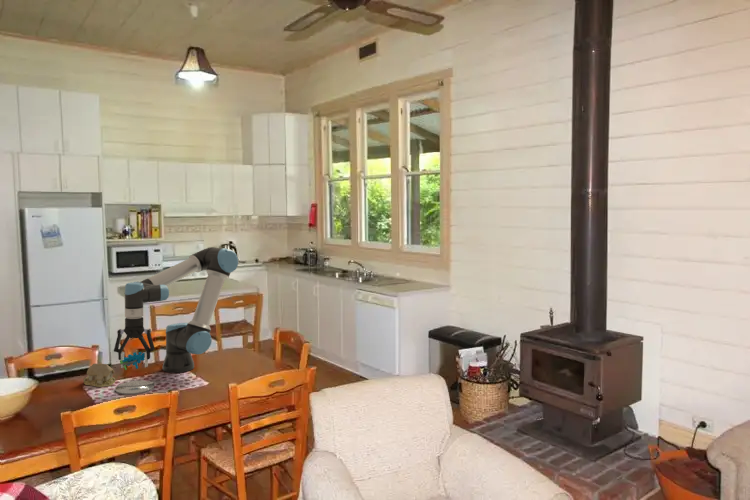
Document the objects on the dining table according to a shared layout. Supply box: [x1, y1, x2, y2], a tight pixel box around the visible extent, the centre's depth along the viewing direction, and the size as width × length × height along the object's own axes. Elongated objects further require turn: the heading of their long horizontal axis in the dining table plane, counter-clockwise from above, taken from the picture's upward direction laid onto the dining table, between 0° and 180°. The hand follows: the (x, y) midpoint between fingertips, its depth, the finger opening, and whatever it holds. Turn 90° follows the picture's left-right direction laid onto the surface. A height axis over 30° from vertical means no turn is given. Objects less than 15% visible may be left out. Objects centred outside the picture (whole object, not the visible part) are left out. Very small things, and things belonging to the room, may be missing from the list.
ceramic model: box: [83, 361, 116, 388], centre depth 257 cm, size 14×11×10 cm
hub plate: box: [115, 380, 155, 396], centre depth 251 cm, size 16×16×1 cm
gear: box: [119, 351, 145, 371], centre depth 248 cm, size 11×6×10 cm
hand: (134, 366), depth 250 cm, fingers closed on gear, 9 cm apart
